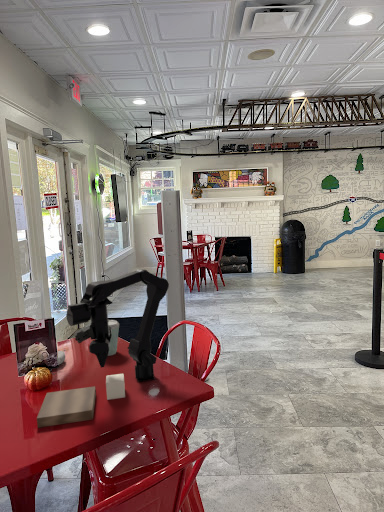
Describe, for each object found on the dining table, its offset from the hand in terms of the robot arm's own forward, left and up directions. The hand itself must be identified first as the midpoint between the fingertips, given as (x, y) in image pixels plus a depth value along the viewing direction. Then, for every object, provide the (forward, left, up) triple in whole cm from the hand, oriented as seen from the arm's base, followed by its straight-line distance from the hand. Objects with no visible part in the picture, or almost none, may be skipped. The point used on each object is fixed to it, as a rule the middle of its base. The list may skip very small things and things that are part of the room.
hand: (103, 361), depth 125 cm
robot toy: (+25, -33, -12) cm, 43 cm away
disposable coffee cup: (-1, -38, -12) cm, 39 cm away
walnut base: (+11, +8, -11) cm, 18 cm away
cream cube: (-4, +2, -12) cm, 12 cm away
